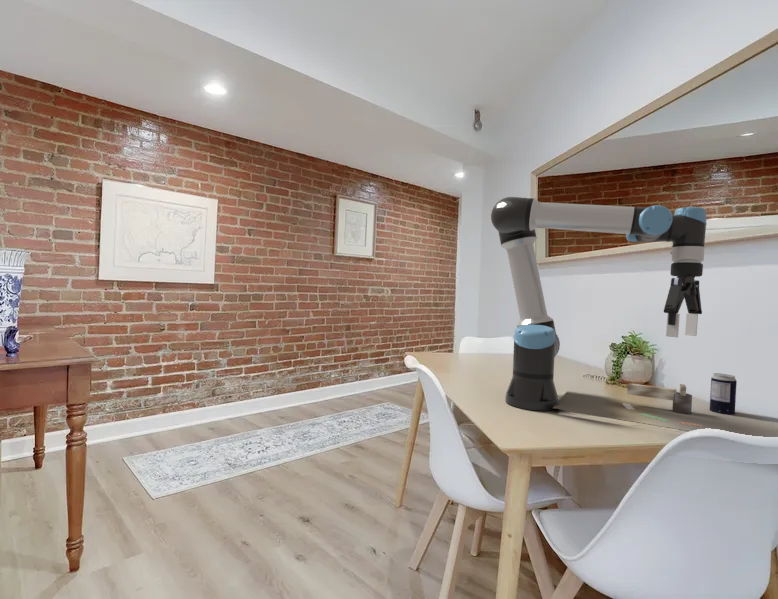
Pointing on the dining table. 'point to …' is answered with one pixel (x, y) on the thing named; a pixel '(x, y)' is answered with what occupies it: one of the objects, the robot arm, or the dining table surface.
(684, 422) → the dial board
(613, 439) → the dining table surface
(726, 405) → the beverage can
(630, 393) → the peg lever
